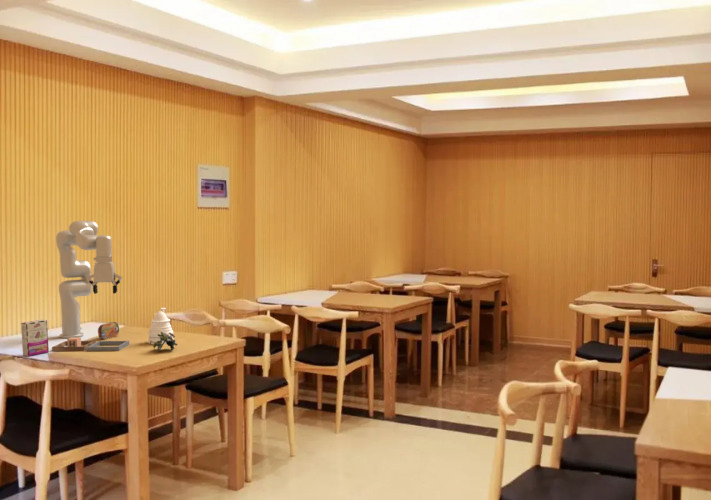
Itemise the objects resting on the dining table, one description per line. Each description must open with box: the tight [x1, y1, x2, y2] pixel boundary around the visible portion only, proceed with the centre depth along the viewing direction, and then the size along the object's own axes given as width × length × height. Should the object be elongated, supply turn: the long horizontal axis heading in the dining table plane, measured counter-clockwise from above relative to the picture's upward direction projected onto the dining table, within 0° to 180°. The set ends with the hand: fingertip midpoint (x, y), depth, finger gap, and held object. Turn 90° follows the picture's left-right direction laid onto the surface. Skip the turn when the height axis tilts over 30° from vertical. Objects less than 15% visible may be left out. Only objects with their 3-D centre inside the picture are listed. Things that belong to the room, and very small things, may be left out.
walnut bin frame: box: [51, 340, 97, 352], centre depth 349 cm, size 16×16×2 cm
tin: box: [97, 321, 120, 340], centre depth 376 cm, size 15×3×8 cm, turn 161°
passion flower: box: [149, 332, 178, 353], centre depth 340 cm, size 11×11×12 cm
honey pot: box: [148, 307, 174, 345], centre depth 362 cm, size 13×13×18 cm
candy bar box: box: [20, 319, 50, 357], centre depth 334 cm, size 11×5×16 cm, turn 148°
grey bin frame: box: [86, 340, 130, 352], centre depth 349 cm, size 16×16×2 cm
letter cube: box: [66, 336, 82, 347], centre depth 349 cm, size 5×5×5 cm
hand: (105, 293), depth 347 cm, fingers open, 9 cm apart
